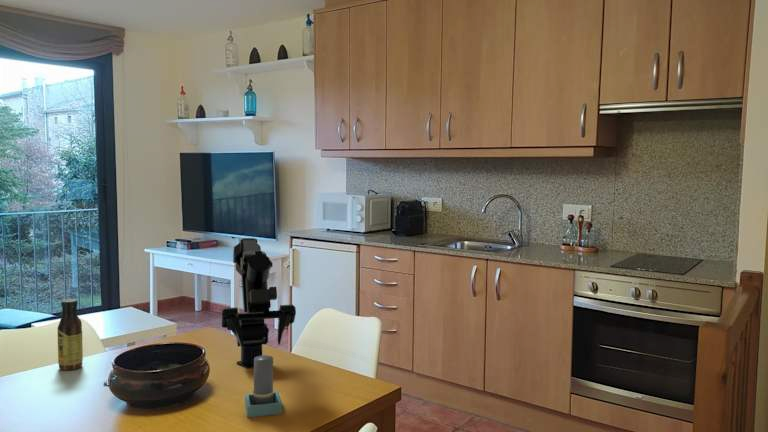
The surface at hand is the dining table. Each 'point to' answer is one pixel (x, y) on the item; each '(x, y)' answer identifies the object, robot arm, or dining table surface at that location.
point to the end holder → (263, 406)
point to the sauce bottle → (70, 337)
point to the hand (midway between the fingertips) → (260, 345)
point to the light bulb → (263, 380)
